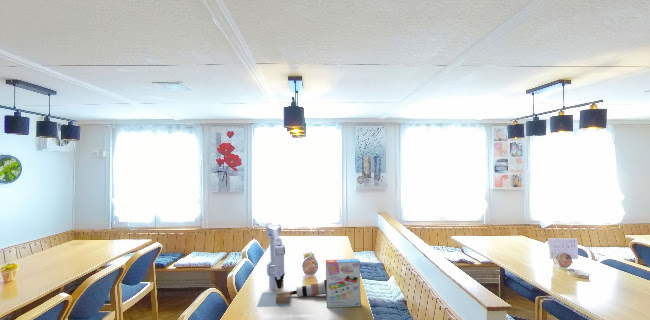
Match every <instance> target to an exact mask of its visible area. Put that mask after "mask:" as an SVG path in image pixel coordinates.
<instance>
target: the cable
mask: <svg viewBox="0 0 650 320" xmlns="http://www.w3.org/2000/svg"><path fill="white" fill-rule="evenodd" d="M289 292H290V295H292V296H293V295H296V297H297V298H301V297H311V296H312V297H315V296H320V295H321V296H323V295H325V296H326V297H327V292H326V279H324V280H323V281H322V282H318V283H313V284H308V285H302V286H296V289H295V290H291V291H289Z"/></svg>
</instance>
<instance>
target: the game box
mask: <svg viewBox="0 0 650 320" xmlns="http://www.w3.org/2000/svg"><path fill="white" fill-rule="evenodd" d="M360 262H361V261H360V259H359V258H349V259H346V258H345V259H326V260H325V280H326V292H327V296H326V308H329V309H330V308H351V307H352V308H353V307H357V308H358V307H362V302H361V299H362V298H361V263H360Z"/></svg>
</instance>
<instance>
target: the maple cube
mask: <svg viewBox="0 0 650 320" xmlns="http://www.w3.org/2000/svg"><path fill="white" fill-rule="evenodd" d="M284 284H285V283H284V279H283V281H282V287H281V289H278V288H277V283H276V290H275V291H283V290H284V287H285V286H284Z"/></svg>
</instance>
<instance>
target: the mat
mask: <svg viewBox="0 0 650 320" xmlns="http://www.w3.org/2000/svg"><path fill="white" fill-rule="evenodd" d="M277 292H278V291H271V292H269V291H267V292H264V291H263V292H261V295H260V298H259V301H258V303H257V306H256V307H257V308H265V307H266V308H267V307H270V308H271V307H272V308H273V307H291V304H292V298H293V295H290V301H289V303H277V304H276V295H277Z"/></svg>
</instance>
